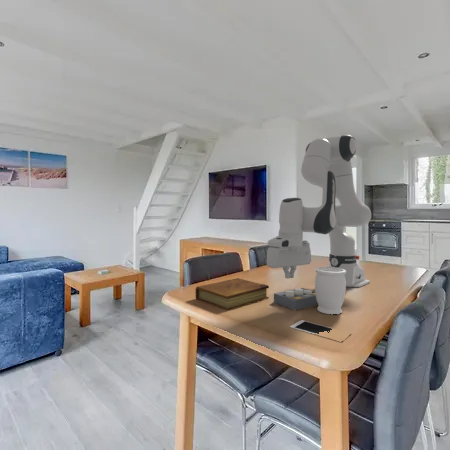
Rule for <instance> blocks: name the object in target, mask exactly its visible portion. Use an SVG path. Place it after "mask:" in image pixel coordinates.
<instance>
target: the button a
mask: <svg viewBox="0 0 450 450" xmlns="http://www.w3.org/2000/svg"><path fill="white" fill-rule="evenodd" d="M291 290H292V289H290V290H288V289H287V290H285V291H286V295H285V297H288V298H292V297H294V291H291Z"/></svg>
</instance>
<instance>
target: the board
mask: <svg viewBox="0 0 450 450" xmlns="http://www.w3.org/2000/svg"><path fill="white" fill-rule="evenodd" d="M295 289H296V288H293V289H290V290H291V291H294V297H292V298H288V297H285V295H286V291H287V290H285V291H280V292H276V293H273V303H274V304H277V305H280V306H282V307H285V308H288V309H291V310H292V311H297V310H301V309H305V308H311V307H313V306H317V305H318V303H317V299H316V293H315V290H311V289H309V288H305V287H300V288H298V289H303V295H301V296H298V295H295ZM304 290H310V291H312V293H311V294H307V293H304ZM318 306H319V305H318Z"/></svg>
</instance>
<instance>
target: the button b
mask: <svg viewBox="0 0 450 450" xmlns="http://www.w3.org/2000/svg"><path fill="white" fill-rule="evenodd" d="M310 290H311V289H308V290H304V293H307V294H311V293H312V291H313V290H312V291H310Z"/></svg>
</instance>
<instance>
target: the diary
mask: <svg viewBox="0 0 450 450" xmlns="http://www.w3.org/2000/svg"><path fill="white" fill-rule="evenodd" d="M269 288H270V287H269V285H267V284H263V283H259V282H254V281H252V280H251V281H250V280H248V279H247V280H246V279H244V278H232V279H227V280H223V281H218V282H213V283H207V284H203V285H198V286H196V287H195V299H196V300H198V301H200V302H203V303H205V304H209V305H211V306H213V307H217V308H219V309H221V310H225V311H231V310H233V309H237V308H241V307H244V306H248V305H251V304H254V303H257V302H260V301H263V300H267V299H270V297H269V296H267V289H269Z"/></svg>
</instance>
